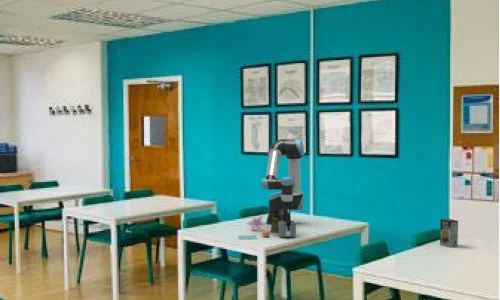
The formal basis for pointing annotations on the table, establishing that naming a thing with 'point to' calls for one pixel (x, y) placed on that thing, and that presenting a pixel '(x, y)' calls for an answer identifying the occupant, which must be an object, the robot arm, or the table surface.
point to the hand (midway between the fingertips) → (286, 233)
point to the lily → (256, 223)
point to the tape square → (247, 237)
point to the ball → (265, 233)
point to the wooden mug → (276, 219)
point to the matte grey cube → (283, 229)
